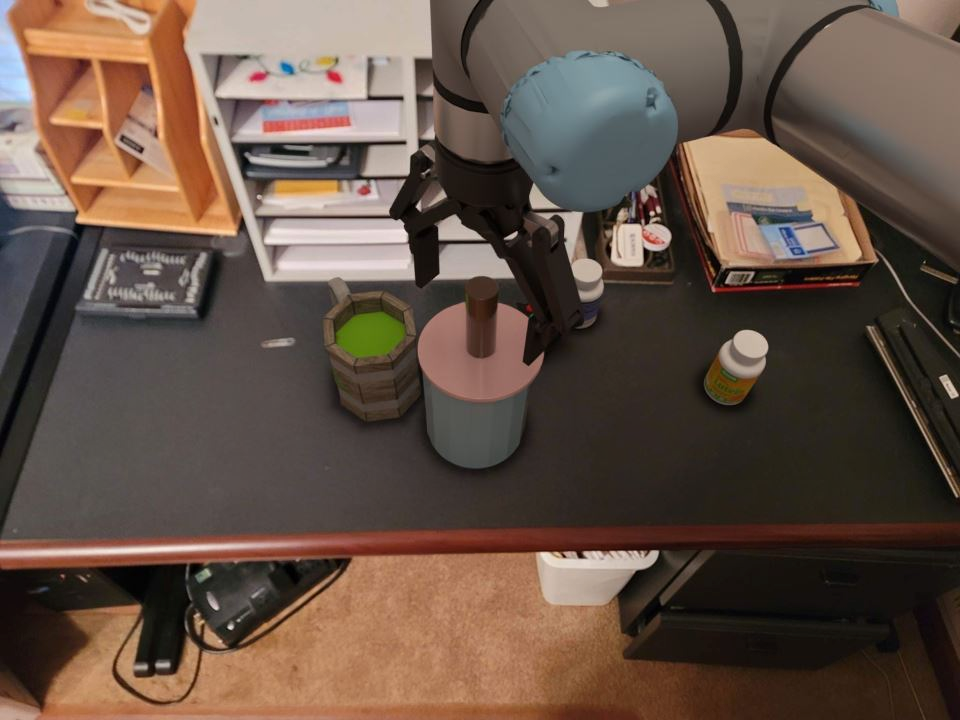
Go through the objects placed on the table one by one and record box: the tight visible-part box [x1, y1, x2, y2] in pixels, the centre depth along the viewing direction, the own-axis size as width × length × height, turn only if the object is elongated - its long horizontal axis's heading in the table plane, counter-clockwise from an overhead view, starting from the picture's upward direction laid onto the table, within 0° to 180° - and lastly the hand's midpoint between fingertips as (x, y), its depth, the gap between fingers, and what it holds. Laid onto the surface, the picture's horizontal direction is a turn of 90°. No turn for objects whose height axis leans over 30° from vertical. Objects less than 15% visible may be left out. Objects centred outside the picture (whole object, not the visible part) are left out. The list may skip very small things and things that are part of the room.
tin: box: [422, 301, 533, 469], centre depth 77 cm, size 12×12×16 cm
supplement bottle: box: [703, 329, 769, 406], centre depth 84 cm, size 5×5×10 cm
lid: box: [417, 275, 545, 402], centre depth 66 cm, size 13×13×10 cm
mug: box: [322, 276, 422, 423], centre depth 83 cm, size 16×11×12 cm
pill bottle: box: [571, 257, 605, 329], centre depth 91 cm, size 5×5×9 cm
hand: (479, 316), depth 67 cm, fingers open, 13 cm apart
